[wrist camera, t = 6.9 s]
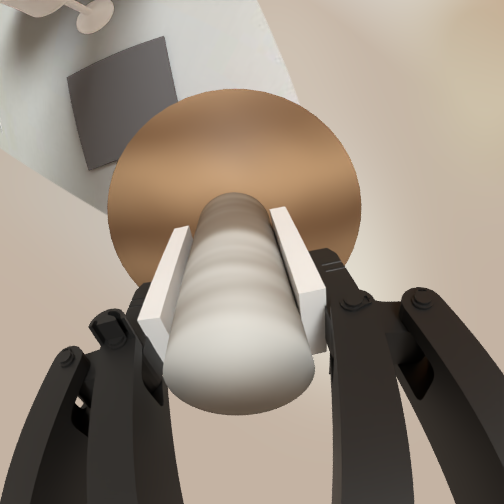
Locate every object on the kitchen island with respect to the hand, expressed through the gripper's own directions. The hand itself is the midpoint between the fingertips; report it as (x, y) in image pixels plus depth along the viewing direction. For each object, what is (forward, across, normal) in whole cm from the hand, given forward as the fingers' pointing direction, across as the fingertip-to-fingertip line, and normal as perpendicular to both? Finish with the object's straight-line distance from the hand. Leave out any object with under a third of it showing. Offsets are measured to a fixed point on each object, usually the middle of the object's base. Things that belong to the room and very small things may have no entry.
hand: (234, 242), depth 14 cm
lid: (+3, 0, 0) cm, 3 cm away
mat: (+27, -14, +12) cm, 32 cm away
